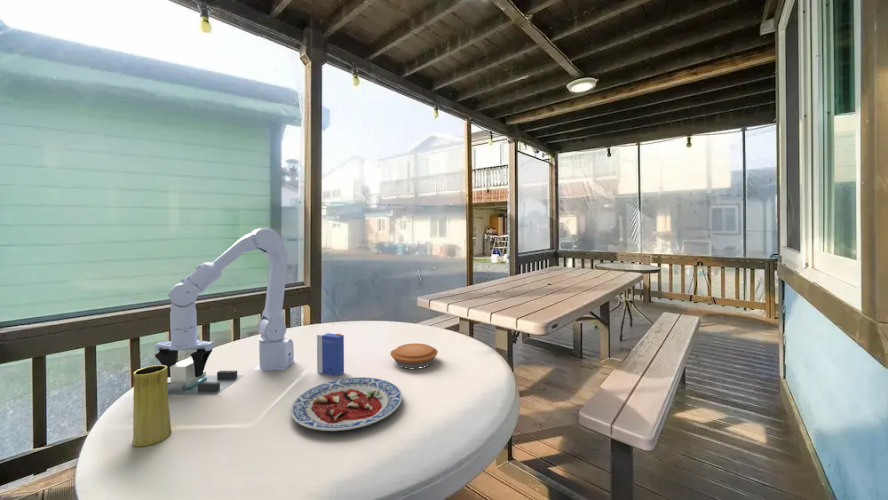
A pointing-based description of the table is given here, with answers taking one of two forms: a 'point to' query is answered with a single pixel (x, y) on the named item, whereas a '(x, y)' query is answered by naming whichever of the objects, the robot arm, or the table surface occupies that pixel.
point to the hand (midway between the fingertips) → (185, 375)
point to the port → (182, 386)
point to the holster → (216, 385)
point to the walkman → (330, 353)
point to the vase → (151, 406)
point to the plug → (183, 372)
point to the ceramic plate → (346, 404)
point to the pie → (414, 355)
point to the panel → (223, 382)
